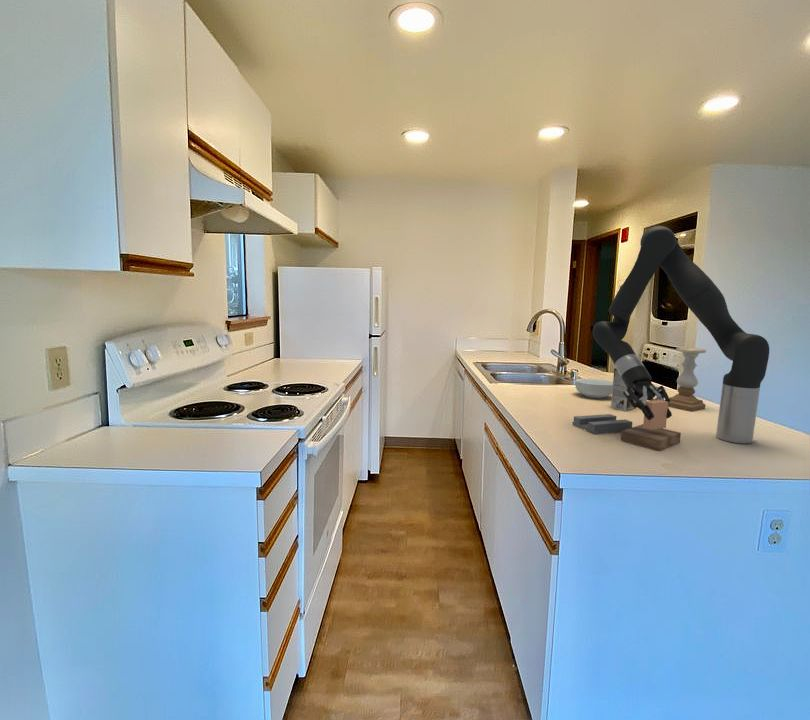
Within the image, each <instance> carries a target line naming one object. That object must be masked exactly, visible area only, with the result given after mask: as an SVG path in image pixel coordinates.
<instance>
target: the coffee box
mask: <svg viewBox="0 0 810 720" xmlns="http://www.w3.org/2000/svg"><path fill="white" fill-rule="evenodd" d="M612 381H613V389H612V395H611V403H610V408H611V409H615V410H617V411H624V412H629V411H631V410H634V409H635V408H634V407H633V406H632V405H631V403H630V402H629V401H628V399H627V398H626V396H625V395H624V394H623V392H624V391H625V390H626V389H627V387H626V385H625V383H624V382H623V380H622V378H621V376H620V375H619V373H618V371H617V369H616V367H615V368H614V369H613V379H612ZM633 401H634V402H635V403H636V401H635V400H633Z"/></svg>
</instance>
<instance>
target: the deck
mask: <svg viewBox="0 0 810 720" xmlns="http://www.w3.org/2000/svg"><path fill="white" fill-rule="evenodd" d="M681 434H682V433H681V432H680V431H676V430H671V429H666V428H661V429H647V428H644V427H643V424H639V425H636V426H632V428H630V429H627V430H623V431H622V432H621V434H620V441H621V442H625V443H627V444H628V443H629V444H632V445H635V446H640V447H644V448H646V449H650V450H653V451H657V452H660V451H662V450H665V449H666V448H669V447H672V446H674V445H676V444H678V443H681Z"/></svg>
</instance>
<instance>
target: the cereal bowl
mask: <svg viewBox="0 0 810 720" xmlns="http://www.w3.org/2000/svg"><path fill="white" fill-rule="evenodd" d="M574 386H575V389H576V391H577V392H579V393H580V394H582V395H584V396H585V397H587V398H589V399H590V398H591V399H600V400H601V399H604V398H606V397H609V396H612V389H613V380H609V379H604V378H592V377H591V378H588V377H587V378H576V379H575V380H574Z"/></svg>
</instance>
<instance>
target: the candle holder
mask: <svg viewBox="0 0 810 720" xmlns="http://www.w3.org/2000/svg"><path fill="white" fill-rule="evenodd" d="M675 350H676V351H677V352H680V353H682V356H683V358H684V361H682V363H681V366H682V368H683V371H682V372H681V374H680V375H679V376H678V377H677V379H676V383H677V385H679V387H678V388H677V392H678V393H677V394H675V395H673V396H671V397H670V396H669V399H670V402H669V403H668V408H672V409H677V410H683V411H686V412H687V411H688V412H697V411H700V410H701V411H702V410H705V409H706V404H705V403H704V402H703V399H699V398H697V397H696V396H694V395H695V394H696V390H695V389H694V388H695V387H697V386H698V385H699V380H698V379H697V377H696V374H695V372H694V369H696V367H697V366H698V364H696V358H697V357H699V355H700V354H706V352H707V350H706V349H704V348H693V347H676V348H675Z"/></svg>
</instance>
